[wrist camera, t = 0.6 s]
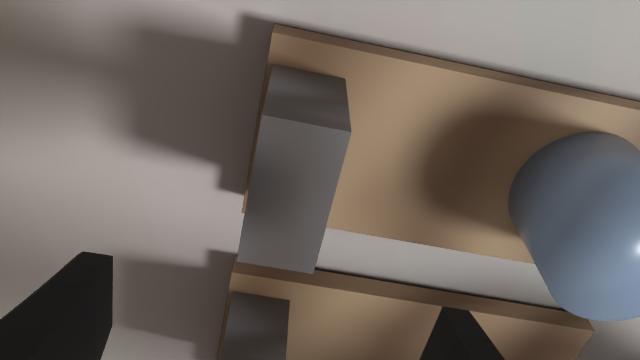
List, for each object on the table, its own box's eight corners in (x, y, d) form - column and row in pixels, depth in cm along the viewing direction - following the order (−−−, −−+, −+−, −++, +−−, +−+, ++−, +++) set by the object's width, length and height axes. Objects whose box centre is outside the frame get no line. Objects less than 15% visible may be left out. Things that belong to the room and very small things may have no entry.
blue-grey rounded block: (674, 146, 19) (752, 210, 16) (606, 255, 22) (660, 331, 18) (542, 119, 18) (592, 178, 15) (488, 234, 21) (521, 308, 18)
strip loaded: (711, 117, 20) (821, 190, 15) (616, 264, 23) (685, 357, 19) (274, 24, 18) (260, 77, 14) (244, 198, 21) (225, 284, 17)
